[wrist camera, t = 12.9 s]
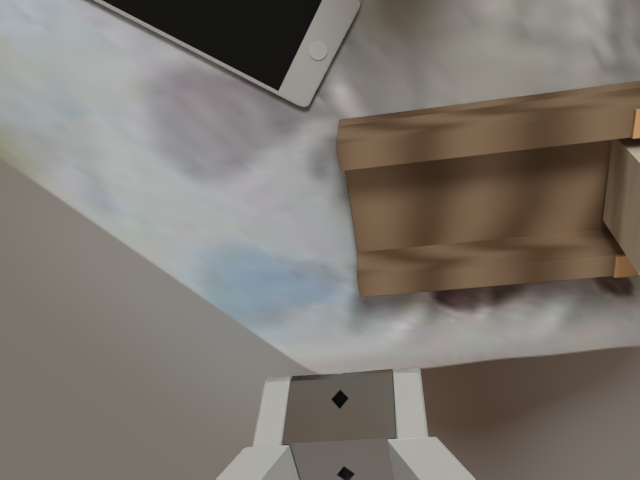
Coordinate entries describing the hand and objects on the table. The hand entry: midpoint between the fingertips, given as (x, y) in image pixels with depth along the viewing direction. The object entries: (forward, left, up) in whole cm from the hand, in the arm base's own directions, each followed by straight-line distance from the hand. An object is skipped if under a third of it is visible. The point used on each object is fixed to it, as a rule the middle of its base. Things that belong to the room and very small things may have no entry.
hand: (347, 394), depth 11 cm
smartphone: (-8, +4, -27) cm, 29 cm away
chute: (+9, -10, -27) cm, 30 cm away
